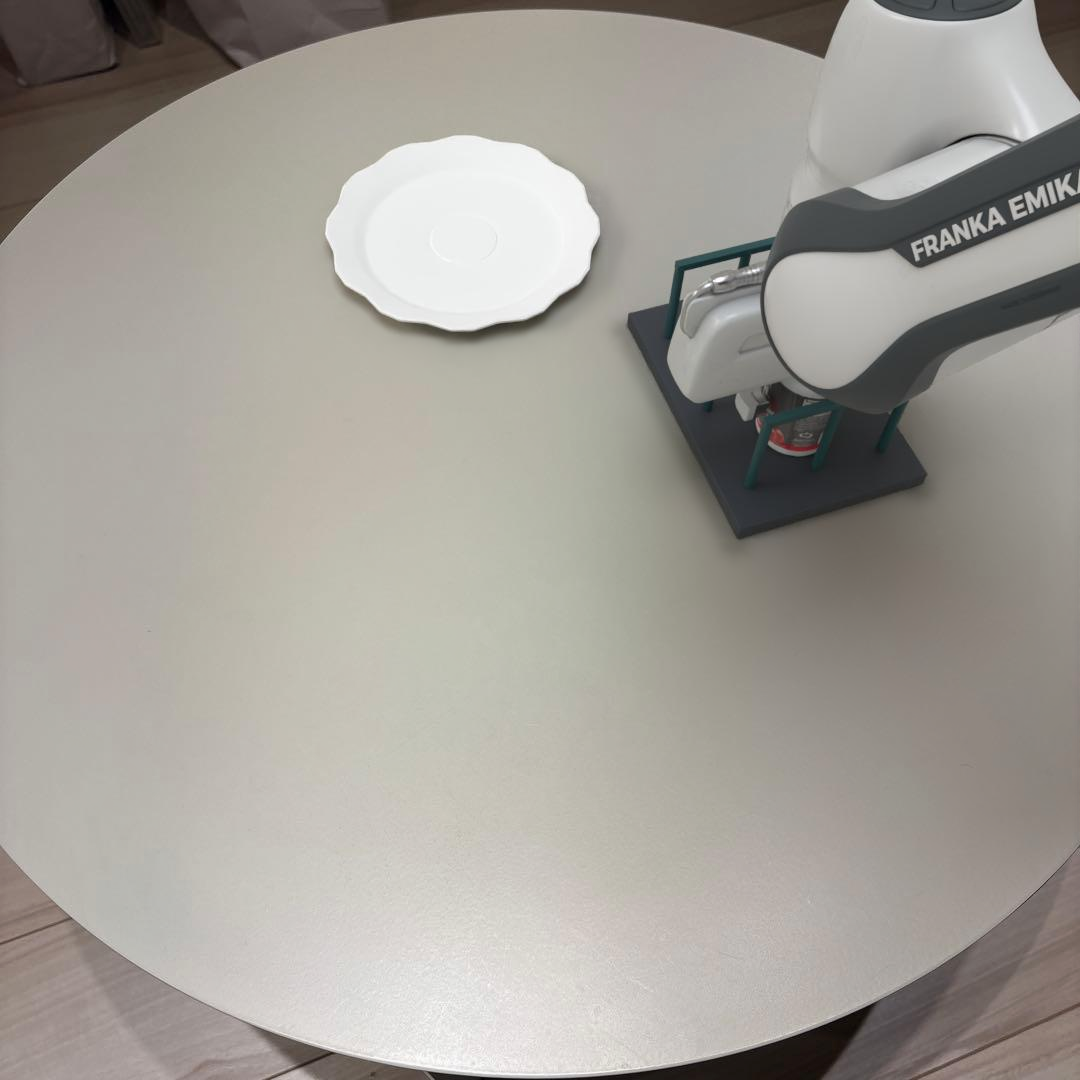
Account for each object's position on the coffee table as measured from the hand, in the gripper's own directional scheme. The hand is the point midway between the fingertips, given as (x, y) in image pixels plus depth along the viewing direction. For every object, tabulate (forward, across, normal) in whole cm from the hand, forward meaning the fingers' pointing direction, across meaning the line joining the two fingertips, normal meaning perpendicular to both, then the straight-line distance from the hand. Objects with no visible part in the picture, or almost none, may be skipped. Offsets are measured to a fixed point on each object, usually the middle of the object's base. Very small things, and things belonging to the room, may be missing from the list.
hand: (803, 396), depth 76 cm
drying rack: (+5, 0, +4) cm, 6 cm away
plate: (+5, -16, +26) cm, 30 cm away
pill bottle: (+4, 0, 0) cm, 4 cm away
